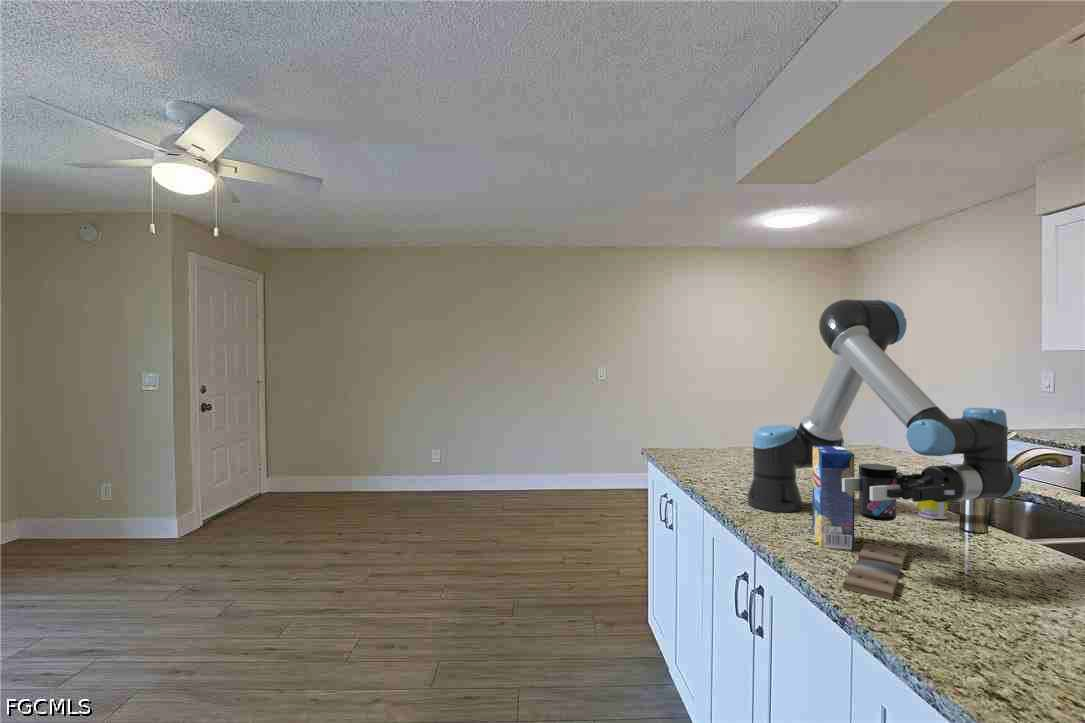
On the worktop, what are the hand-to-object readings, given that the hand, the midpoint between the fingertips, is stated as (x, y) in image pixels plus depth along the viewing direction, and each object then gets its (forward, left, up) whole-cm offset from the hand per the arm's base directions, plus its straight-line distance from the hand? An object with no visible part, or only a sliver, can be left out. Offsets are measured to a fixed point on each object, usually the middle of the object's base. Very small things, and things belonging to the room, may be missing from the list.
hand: (856, 489), depth 114 cm
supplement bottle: (+10, +57, -17) cm, 60 cm away
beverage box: (-8, +19, -17) cm, 27 cm away
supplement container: (+3, +4, -6) cm, 8 cm away
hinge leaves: (+3, +4, -17) cm, 18 cm away
